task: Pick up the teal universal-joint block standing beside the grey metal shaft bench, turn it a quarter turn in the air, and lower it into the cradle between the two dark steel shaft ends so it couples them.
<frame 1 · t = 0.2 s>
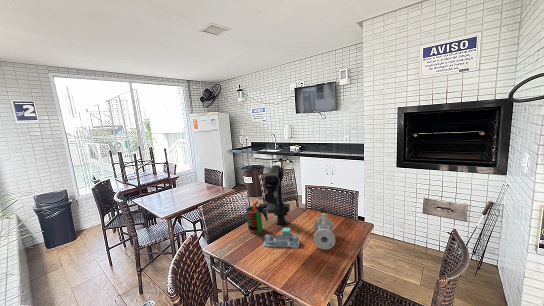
hand: (274, 221, 130), 14 cm above the table, fingers open, 9 cm apart
valve: (324, 239, 133), on the table
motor: (255, 230, 150), on the table
coupler: (286, 236, 139), on the table
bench: (281, 243, 132), on the table
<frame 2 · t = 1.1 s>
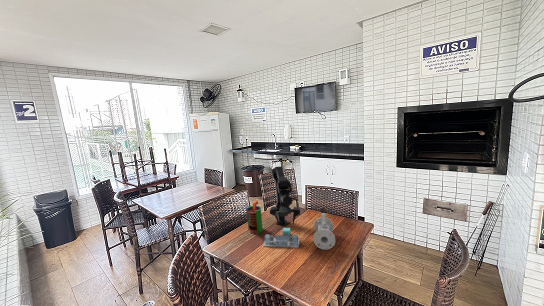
hand: (285, 223, 138), 8 cm above the table, fingers open, 9 cm apart
nothing on the table moved.
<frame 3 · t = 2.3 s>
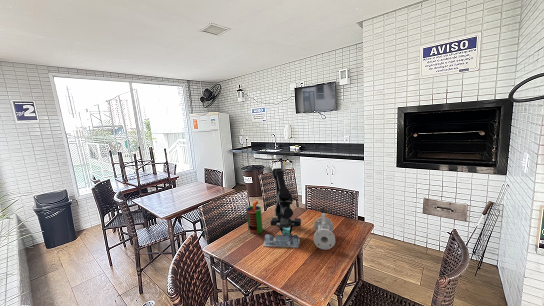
hand: (286, 234, 139), 1 cm above the table, fingers closed on coupler, 4 cm apart
coupler: (286, 236, 139), on the table, touching gripper
everything else where it was.
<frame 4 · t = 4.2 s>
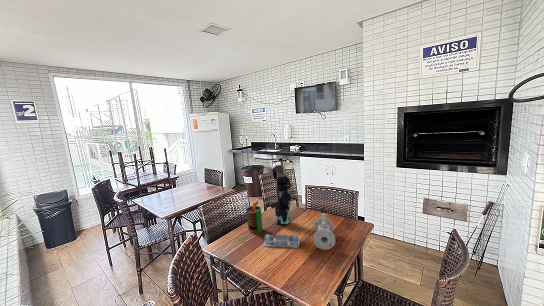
hand: (285, 220, 136), 11 cm above the table, fingers closed on coupler, 4 cm apart
coupler: (285, 222, 136), point 10 cm above the table, touching gripper
everything else where it was.
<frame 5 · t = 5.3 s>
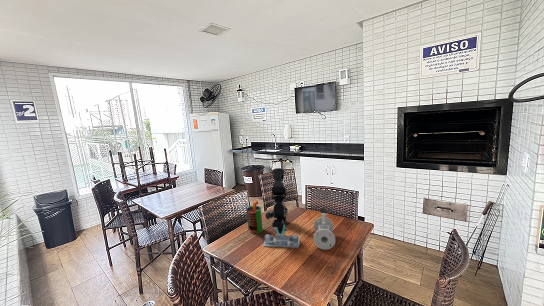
hand: (280, 231, 131), 8 cm above the table, fingers closed on coupler, 4 cm apart
coupler: (281, 232, 131), point 7 cm above the table, touching gripper
everything else where it was.
when the fingers open (4 cm above the table, at t = 6.3 s): coupler drops 2 cm, resting on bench.
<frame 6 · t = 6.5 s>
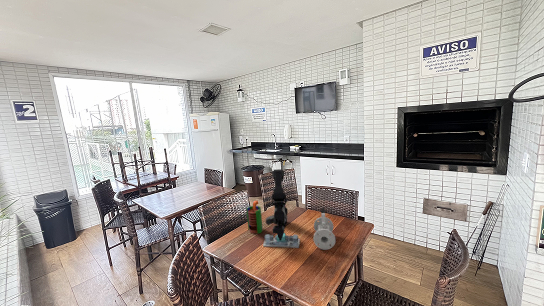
hand: (281, 237, 131), 4 cm above the table, fingers open, 7 cm apart
coupler: (281, 241, 131), point 1 cm above the table, touching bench
everything else where it was.
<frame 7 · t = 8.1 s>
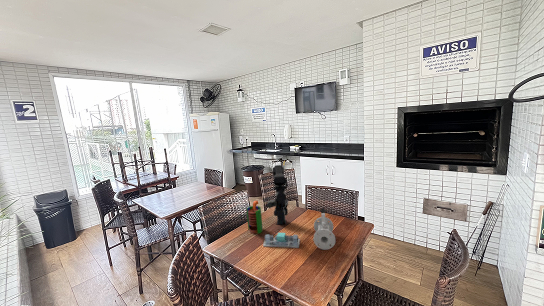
hand: (282, 219, 137), 11 cm above the table, fingers open, 9 cm apart
nothing on the table moved.
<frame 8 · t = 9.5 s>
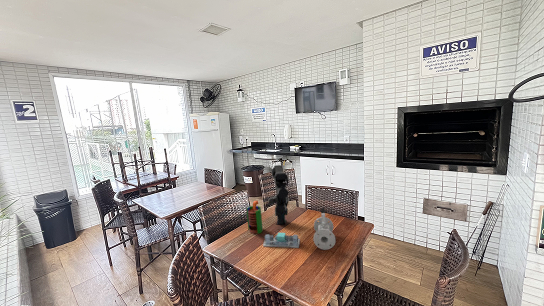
hand: (283, 216, 141), 12 cm above the table, fingers open, 9 cm apart
nothing on the table moved.
at the end: coupler 0.1 cm off-centre on the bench, point 1.0 cm above the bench's base; coupler tilted 0°; the gripper is holding nothing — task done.
